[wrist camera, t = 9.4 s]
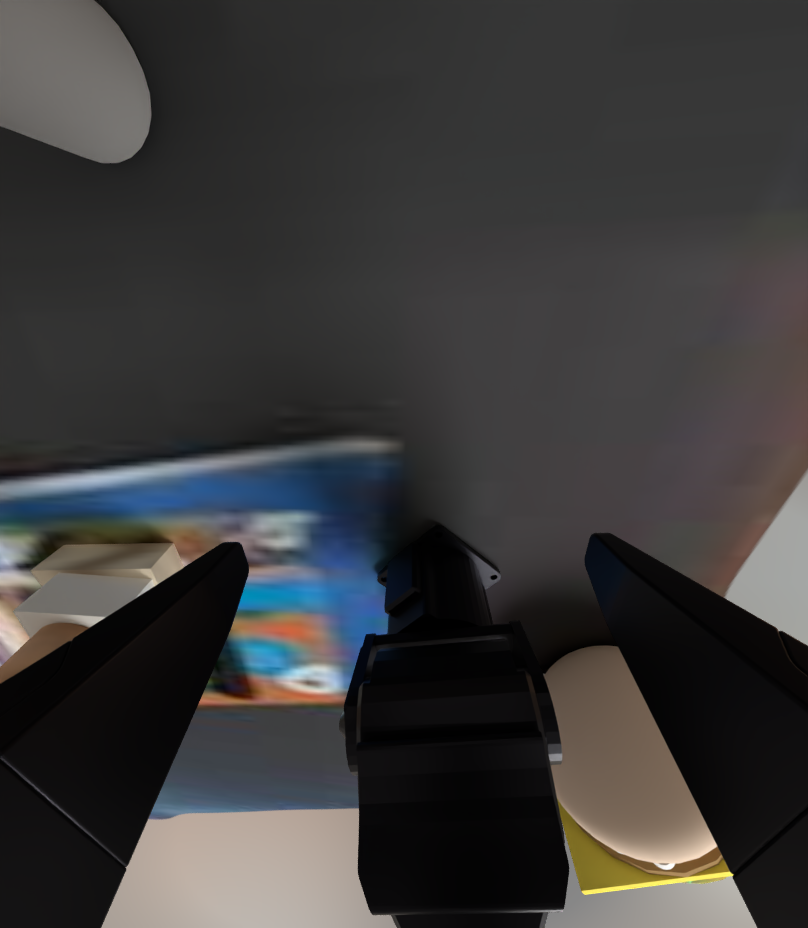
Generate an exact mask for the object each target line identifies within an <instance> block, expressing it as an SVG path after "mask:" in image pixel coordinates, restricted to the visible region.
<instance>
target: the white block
mask: <svg viewBox="0 0 808 928" xmlns="http://www.w3.org/2000/svg"><path fill="white" fill-rule="evenodd" d="M152 587H154V583H153V580H152V579H146V578H131V577H116V576H101V575H86V574H71V573H58V574H57V575H55V576H54V577H53V578H52V579H51V580H49V581H48V582H47V583H46V584H45V585H43V586H42V587H41V588H40V589H39V590H37V591H36V592H35V593H34V594H33V595H31V596H30V597H29V598H28V599H27V600H26V601H24V602H23V603H22V604H21V605H20V606H18V607H17V608H16V609H15V610H14V611H13V612H14V614H15V615H16V617H17V618H18V620H19V622H20V623H21V625H22V626H23V628H24V629H25V631H26V632H27V634H28V636H29V637H30V638H31V637H32V636H33V635H34V634H36V633H37V632H38V631H39V630H40V629H41V628H42V627H44V626H46V625H49V624H53V623H71V624H77V625H81V626H84V627H88V628H90V627H91V626H93V625H94V624H96V623H98V622H99V621H101V620H102V619H104V618H105V617H107V616H109V615H110V614H112V613H113V612H115V611H116V610H118V609H120V608H121V607H123V606H124V605H126V604H127V603H129V602H130V601H132V600H134V599H135V598H137V597H138V596H140V595H141V594H143V593H145V592H146V591H148V590H149V589H151V588H152Z"/></svg>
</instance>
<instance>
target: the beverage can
mask: <svg viewBox="0 0 808 928" xmlns="http://www.w3.org/2000/svg"><path fill="white" fill-rule="evenodd" d="M150 121H151V101H150V92H149V89H148V86H147V82H146V79H145V76H144V72H143V70H142V68H141V65H140V63H139V61H138V59H137V57H136V55H135V53H134V51H133V48H132V47H131V45H130V44H129V42H128V40H127V39H126V37H125V35H124V34H123V32H122V31H121V29H120V27H119V26H118V25H117V24H116V22H115V21H114V20H113V19H112V18H111V17H110V16H109V14H108V13H107V12H106V11H105V10H104V9H103V8H102V7H101V6H100V5H99V4H98V3H97V2H96V1H94V0H0V126H1V127H4V128H7V129H9V130H12V131H15V132H17V133H20V134H23V135H25V136H28V137H31V138H33V139H36V140H39V141H41V142H44V143H47V144H49V145H52V146H55V147H57V148H60V149H63V150H65V151H68V152H71V153H74V154H76V155H79V156H82V157H84V158H87V159H90V160H94V161H97V162H100V163H119V162H122V161H124V160H127V159H129V158H131V157H132V156H133V155H134V154H135V153H136V152H137V151H139V150H140V149H141V147H142V145H143V143H144V141H145V139H146V137H147V135H148V133H149V127H150Z"/></svg>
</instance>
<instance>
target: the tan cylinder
mask: <svg viewBox="0 0 808 928" xmlns="http://www.w3.org/2000/svg"><path fill="white" fill-rule="evenodd" d="M87 629H88V627H84V626H81V625H77V624H71V623H53V624H49V625H46V626H44V627H42V628H41V629H40V630H39V631H38V632H37V633H36V634H34V635H33V636H32V637H31V638H30V639H29V640H28V641H27V642H26V643H25V644H24V645H23V646H22V647H21V648H20V649H19V650H18V651H17V652H16V653H15V654H14V655H13V656H11V657H10V658H9V659H8V660H7V661H6V662H5V663H4V664H3V665H2V666H1V667H0V683H2V682H3V681H5V680H7V679H8V678H10V677H12V676H14V675H15V674H17V673H18V672H20V671H22V670H23V669H25V668H27V667H28V666H30V665H31V664H33V663H35V662H36V661H38V660H39V659H41V658H43V657H44V656H46V655H47V654H49V653H51V652H52V651H54V650H55V649H57V648H58V647H60V646H61V645H63V644H65V643H66V642H68V641H72V640H73V638H74V637H76V636H77V635H79V634H80V633H82V632H83V631H85V630H87Z"/></svg>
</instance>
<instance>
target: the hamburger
mask: <svg viewBox="0 0 808 928" xmlns="http://www.w3.org/2000/svg"><path fill="white" fill-rule="evenodd" d="M543 675H544V678H545V680H546V683H547V686H548V689H549V692H550V695H551V699H552V702H553V706H554V710H555V714H556V718H557V723H558V728H559V733H560V739H561V746H562V763H561V765H551V770H552V775H553V780H554V785H555V790H556V795H557V801H558V806H559V811H560V816H561V820H562V824H563V827H564V831H565V834H566V838H567V841H568V845H569V848H570V852H571V856H572V859H573V863H574V866H575V870H576V874H577V877H578V881H579V884H580V888H581V891H582V892H583V893H584V894H585V895H587V894H594V893H602V892H610V891H617V890H625V889H633V888H641V887H648V886H657V885H664V884H671V883H680V882H681V883H696V884H705V883H710V882H714V881H718V880H723V879H724V878H726V877H728V876H733V874H731V872H730V871H729V869H728V867H727V865H726V863H725V861H724V859H723V857H722V855H721V853H720V851H719V849H718V847H717V845H716V843H715V841H714V839H713V837H712V835H711V833H710V831H709V829H708V827H707V825H706V823H705V821H704V819H703V817H702V815H701V813H700V811H699V808H698V806H697V804H696V802H695V800H694V798H693V796H692V794H691V792H690V790H689V788H688V786H687V784H686V782H685V780H684V778H683V776H682V774H681V772H680V770H679V768H678V766H677V764H676V762H675V760H674V758H673V756H672V754H671V752H670V750H669V748H668V746H667V744H666V742H665V740H664V738H663V736H662V734H661V732H660V730H659V728H658V726H657V724H656V722H655V720H654V718H653V716H652V714H651V712H650V710H649V708H648V706H647V704H646V702H645V700H644V698H643V696H642V694H641V692H640V690H639V688H638V686H637V684H636V682H635V680H634V678H633V676H632V674H631V672H630V670H629V668H628V666H627V664H626V662H625V660H624V658H623V656H622V654H621V652H620V650H619V648H618V647H617V646H608V645H605V646H591V647H586V648H581V649H578V650H576V651H573V652H571V653H568V654H567V655H565V656H564V657H562V658H560V659H559V660H558V661H557V662H555V663H554V664H553V665H552V666H551V667H550V668H549V669H548V671H547V672H546V674H544V673H543Z"/></svg>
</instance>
